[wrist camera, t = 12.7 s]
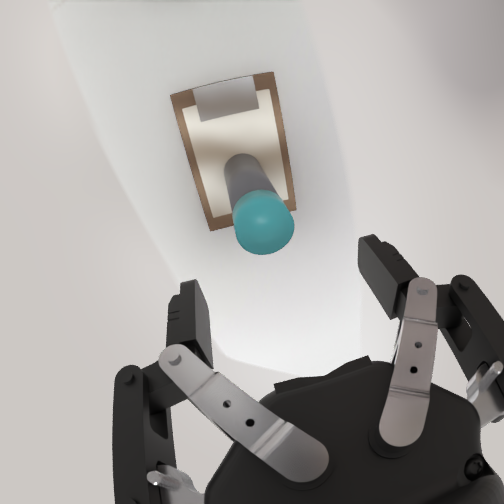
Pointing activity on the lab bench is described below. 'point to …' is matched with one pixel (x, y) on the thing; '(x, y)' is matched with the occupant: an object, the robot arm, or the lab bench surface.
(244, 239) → the marker
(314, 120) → the lab bench surface
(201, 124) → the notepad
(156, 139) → the lab bench surface
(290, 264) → the lab bench surface
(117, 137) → the lab bench surface
